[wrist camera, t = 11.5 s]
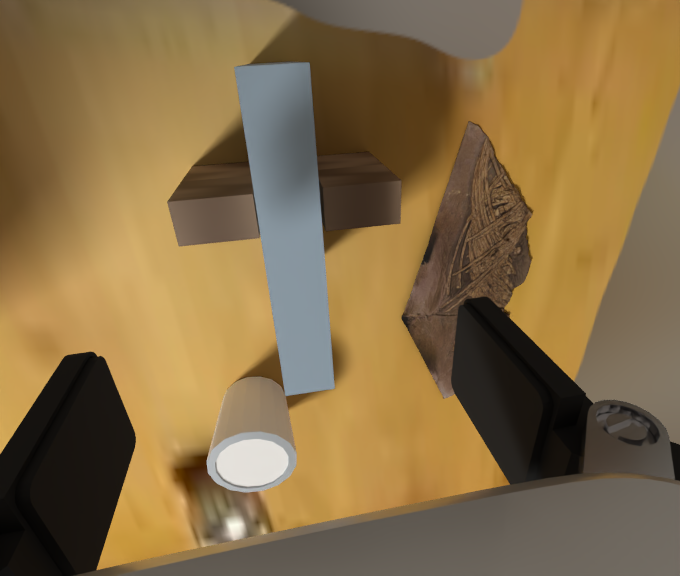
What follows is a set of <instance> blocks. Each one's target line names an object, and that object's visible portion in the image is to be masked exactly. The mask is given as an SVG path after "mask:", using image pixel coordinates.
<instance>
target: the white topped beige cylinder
mask: <svg viewBox="0 0 680 576" xmlns="http://www.w3.org/2000/svg"><path fill="white" fill-rule="evenodd" d="M295 467H296V448H295V443H294V438H293V432H292V427H291V422H290V417H289V411H288V406H287V401H286V396H285V393H284V391H283V389H282V387H281V386H280V385H279V384H277V383H276V382H275V381H273V380H272V379H268V378H264V377H260V376H259V377H246V378H244V379H241V380H238V381H236V382H235V383H233V384H232V385H231V386H230V387H229V388H228V389H227V391H226V393H225V395H224V397H223V401H222V405H221V408H220V412H219V416H218V420H217V424H216V427H215V431H214V435H213V439H212V443H211V446H210V450H209V454H208V458H207V468H208V474H209V475H210V476H211V477H212V478H213V480H214V481H215V482H216V483H217V484H219V485H221V486H223V487H225V488H227V489H229V490H234V491H241V492H255V491H263V490H266V489H269V488H271V487H274V486H277V485H279V484H280V483H281V482H283V481H284V480H285V479H287V478H288V477H289V476H290V475H291V473H292V472H293V470H294V468H295Z"/></svg>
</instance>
